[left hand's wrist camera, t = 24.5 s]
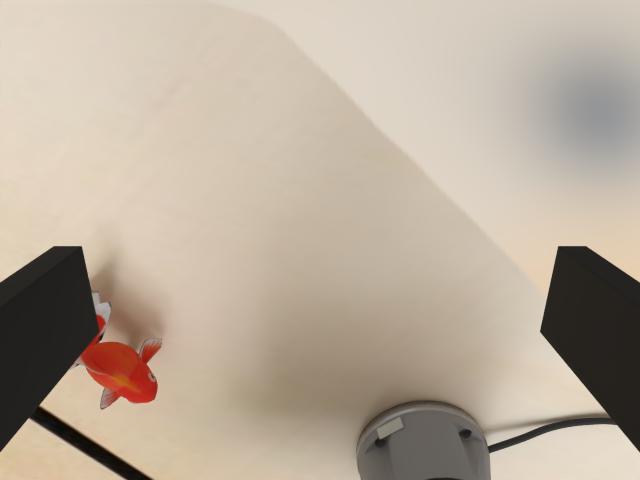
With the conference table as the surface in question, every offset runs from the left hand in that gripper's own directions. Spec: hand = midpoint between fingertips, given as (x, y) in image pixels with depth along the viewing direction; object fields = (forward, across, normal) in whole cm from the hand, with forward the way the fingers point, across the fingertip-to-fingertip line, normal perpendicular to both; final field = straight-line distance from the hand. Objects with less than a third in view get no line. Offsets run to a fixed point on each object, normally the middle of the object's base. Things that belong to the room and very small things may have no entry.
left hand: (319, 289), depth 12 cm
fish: (+29, -23, -20) cm, 42 cm away
